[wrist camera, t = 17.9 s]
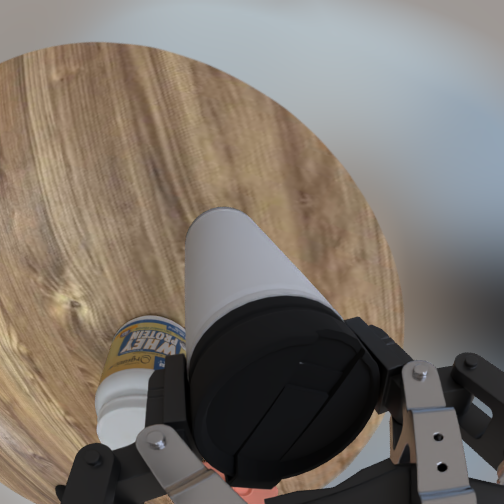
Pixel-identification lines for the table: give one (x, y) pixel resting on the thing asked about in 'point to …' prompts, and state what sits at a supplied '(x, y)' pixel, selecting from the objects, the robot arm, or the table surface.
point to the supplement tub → (133, 376)
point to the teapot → (249, 490)
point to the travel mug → (266, 358)
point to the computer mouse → (60, 491)
